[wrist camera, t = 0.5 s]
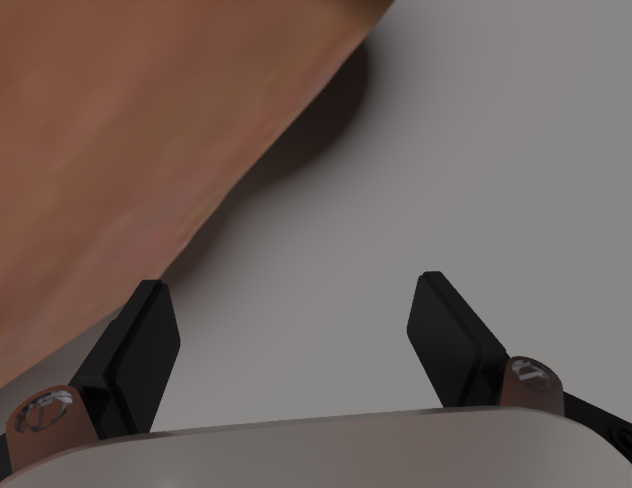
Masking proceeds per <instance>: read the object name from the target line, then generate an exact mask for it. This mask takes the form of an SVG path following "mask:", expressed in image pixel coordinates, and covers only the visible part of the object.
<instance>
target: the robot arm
mask: <svg viewBox="0 0 632 488" xmlns="http://www.w3.org/2000/svg"><path fill="white" fill-rule="evenodd" d="M407 335H408V338H409V340H410V342H411V344H412V346H413V348H414V350H415V352H416V354H417V356H418V358H419V360H420V362H421V363H422V366H423V367H424V369H425V371H426V374H427V376H428V378H429V379H430V382H431V383H432V386H433V387H434V389H435V392H436V394H437V396H438V398H439V399H440V402H441V403H442V405H443V407H444V408H432V409H419V410H406V411H393V412H380V413H366V414H354V415H342V416H329V417H317V418H306V419H293V420H281V421H269V422H257V423H246V424H235V425H223V426H212V427H200V428H190V429H180V430H171V431H161V432H152V433H149V432H150V429H151V426H152V424H153V421H154V418H155V415H156V413H157V410H158V407H159V404H160V401H161V399H162V396H163V393H164V391H165V388H166V385H167V382H168V379H169V376H170V374H171V371H172V368H173V366H174V362H175V360H176V357H177V355H178V352H179V348H180V336H179V331H178V327H177V323H176V319H175V314H174V310H173V305H172V301H171V297H170V293H169V288H168V285H167V284H166V283H165V284H163V283H162V281H161V280H142V281H141V282H140V284H139V285H138V287H137V288H136V290H135V291H134V293H133V294H132V296H131V297H130V299H129V300H128V302H127V303H126V305H125V306H124V308H123V309H122V311H121V312H120V314H119V315H118V317H117V318H116V319H114V320H112V322H111V323H110V324H109V325H108V327H107V328H106V330H105V331H104V333H103V334H102V335H101V337H100V338H99V340H98V341H97V343H96V345H95V346H94V347H93V349H92V350H91V352H90V353H89V354H88V356H87V357H86V359H85V360H84V362H83V363H82V365H81V366H80V368H79V369H78V371H77V372H76V374H75V375H74V376H73V378H72V379H71V381H70V382H69V384H68V385H64V386H63V385H59V386H55V387H50V388H48V389H45V390H43V391H40V392H38V393H36V394H35V395H33V396H31V397H30V398H28V399H27V400H25V401H24V402H23V403H22V404H20V405H19V406H18V407H17V408H16V409H15V410H14V412H13V413H12V414H11V415H10V417H9V419H8V421H7V423H6V429H5V432H6V433H4V434H2V435H1V436H0V488H632V424H631V423H629V422H627V421H625V420H623V419H621V418H619V417H617V416H615V415H612V414H610V413H608V412H606V411H604V410H602V409H600V408H598V407H596V406H594V405H591V404H589V403H587V402H585V401H583V400H581V399H579V398H577V397H575V396H573V395H570V394H568V393H566V392H564V391H563V386H562V383H561V380H560V379H559V377H558V376H557V375H556V374H555V373H554V372H553V371H552V370H551V369H550V368H549V367H547V366H546V365H544V364H543V363H541V362H539V361H537V360H534V359H532V358H528V357H523V356H515V357H512V358H510V357H509V355H508V354H507V353H506V349H505V348H504V347H503V345H502V344H501V343H500V342H499V341H498V339H497V338H496V337H495V336H494V335H493V333H492V332H491V331H490V330H489V329H488V328H487V326H486V325H485V324H484V323H483V322H482V320H481V319H480V318H479V317H478V316H477V314H476V313H475V312H474V311H473V310H472V308H471V307H470V306H469V305H468V304H467V303H466V301H465V300H464V299H463V298H462V296H461V295H460V294H459V293H458V292H457V290H456V289H455V288H454V287H453V286H452V284H450V282H449V281H448V280H447V279H446V277H445V276H444V275H443V274H442V273H441V272H439V271H431V272H424V273H423V275H421V276H419V278H418V282H417V286H416V290H415V295H414V299H413V303H412V308H411V312H410V317H409V320H408V325H407Z"/></svg>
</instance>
